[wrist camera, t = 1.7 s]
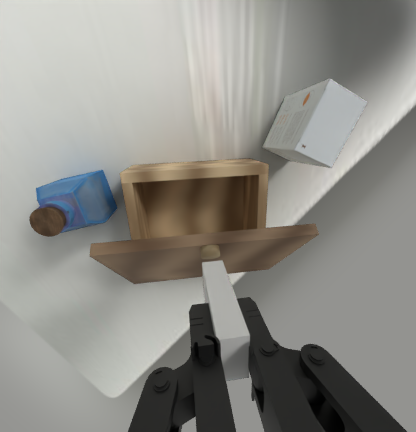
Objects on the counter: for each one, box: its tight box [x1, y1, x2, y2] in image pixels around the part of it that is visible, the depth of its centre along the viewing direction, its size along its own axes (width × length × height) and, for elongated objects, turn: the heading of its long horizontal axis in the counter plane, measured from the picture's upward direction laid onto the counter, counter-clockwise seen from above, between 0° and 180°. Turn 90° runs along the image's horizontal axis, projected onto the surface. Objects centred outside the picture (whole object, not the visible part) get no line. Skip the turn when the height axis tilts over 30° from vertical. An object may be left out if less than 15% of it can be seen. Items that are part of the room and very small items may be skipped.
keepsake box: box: [120, 158, 269, 240], centre depth 33 cm, size 18×14×8 cm
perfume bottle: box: [30, 170, 117, 237], centre depth 28 cm, size 6×6×12 cm
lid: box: [90, 224, 319, 284], centre depth 24 cm, size 19×14×2 cm
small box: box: [262, 79, 368, 168], centre depth 29 cm, size 8×6×10 cm
